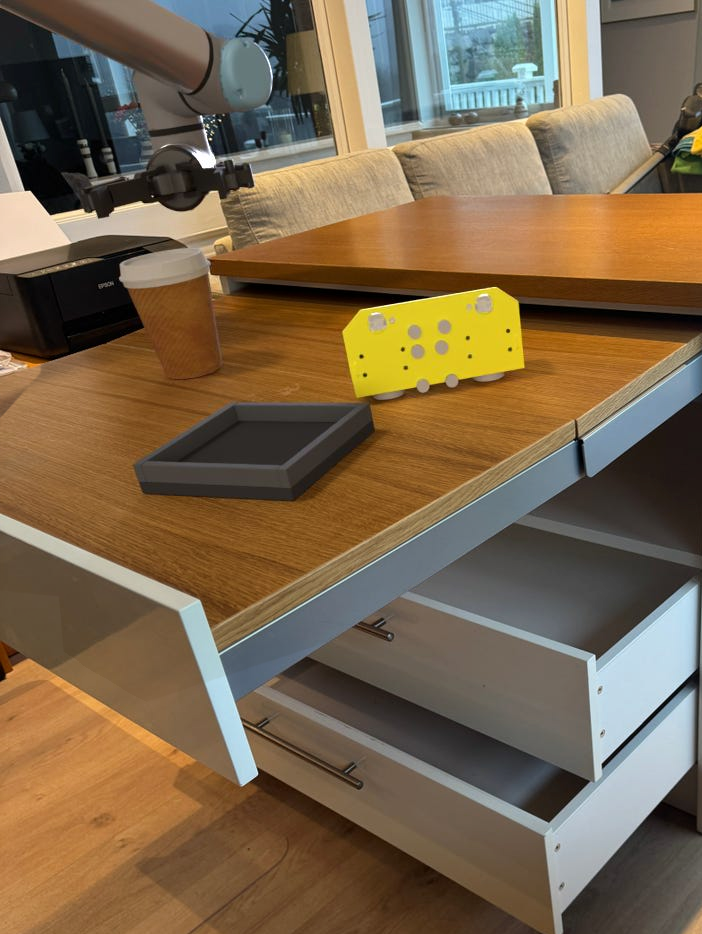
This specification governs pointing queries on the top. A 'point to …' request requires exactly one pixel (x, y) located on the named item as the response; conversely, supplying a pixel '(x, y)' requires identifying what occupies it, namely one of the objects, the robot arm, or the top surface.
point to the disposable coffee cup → (176, 309)
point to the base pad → (256, 450)
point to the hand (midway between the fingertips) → (158, 195)
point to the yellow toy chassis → (433, 342)
